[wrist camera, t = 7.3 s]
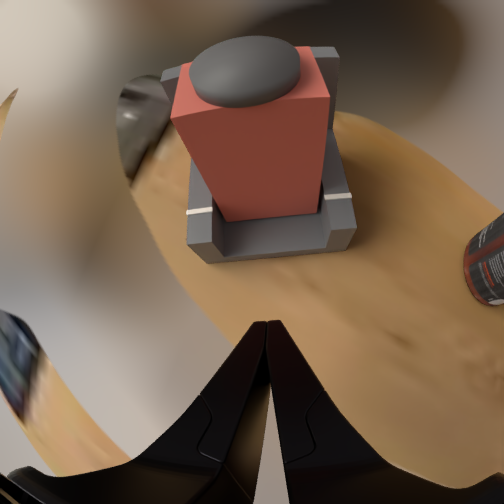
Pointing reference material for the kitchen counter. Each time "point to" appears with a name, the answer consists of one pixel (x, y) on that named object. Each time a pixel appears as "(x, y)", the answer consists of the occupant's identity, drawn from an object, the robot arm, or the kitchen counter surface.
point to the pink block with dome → (255, 125)
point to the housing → (274, 228)
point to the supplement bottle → (486, 263)
